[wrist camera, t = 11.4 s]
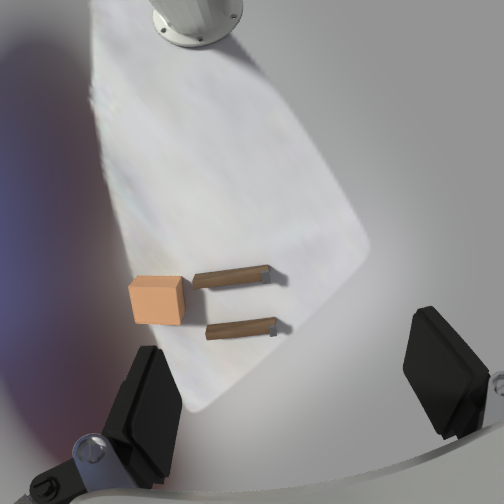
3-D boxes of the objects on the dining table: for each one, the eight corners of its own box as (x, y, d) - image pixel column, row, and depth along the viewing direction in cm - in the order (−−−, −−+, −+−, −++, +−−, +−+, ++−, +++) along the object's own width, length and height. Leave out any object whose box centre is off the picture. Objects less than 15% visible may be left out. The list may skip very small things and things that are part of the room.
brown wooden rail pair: (194, 272, 43) (191, 281, 40) (267, 263, 43) (269, 271, 40) (209, 332, 46) (206, 343, 43) (275, 324, 46) (277, 335, 43)
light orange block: (137, 275, 43) (128, 286, 39) (181, 275, 43) (175, 287, 40) (143, 310, 45) (135, 323, 41) (185, 311, 45) (180, 325, 41)
